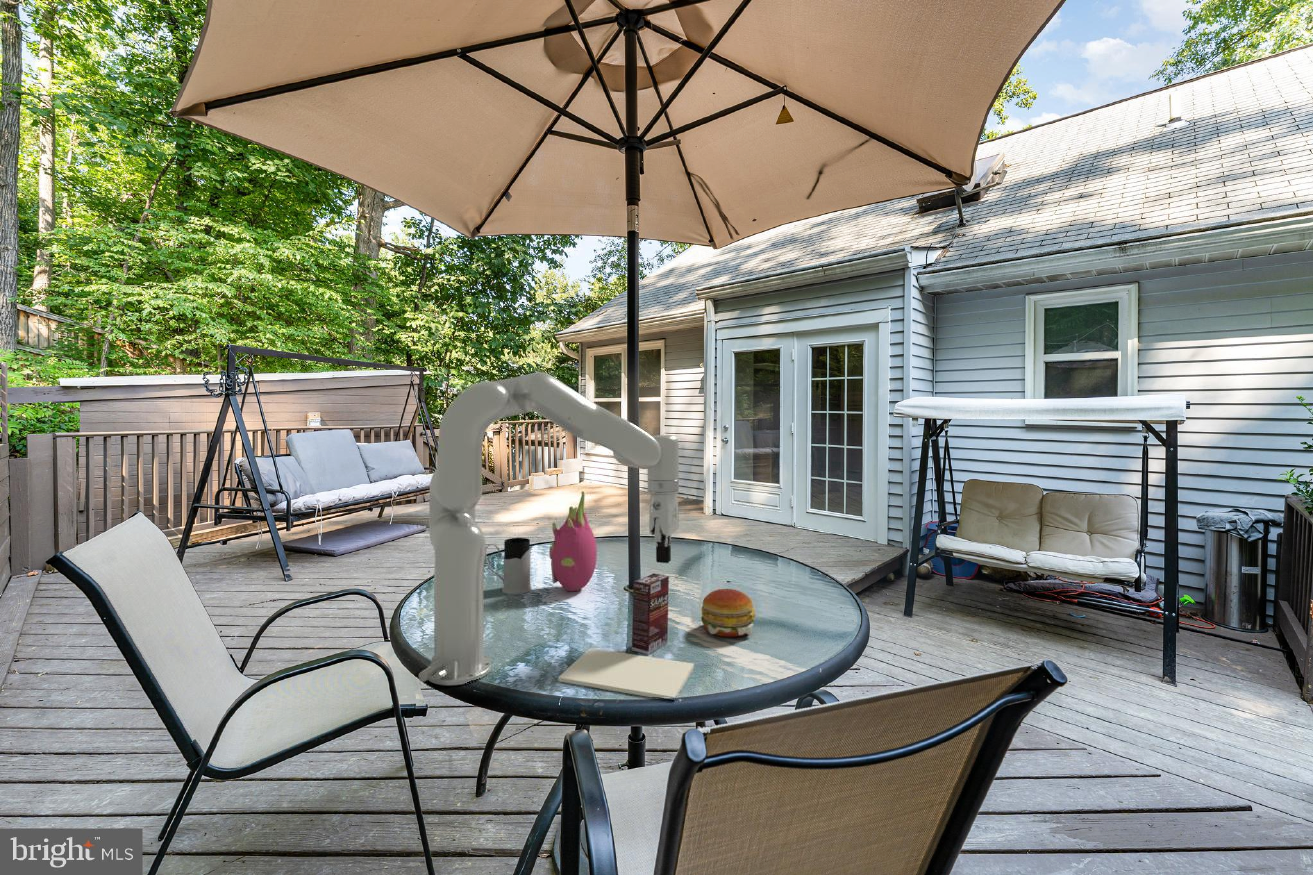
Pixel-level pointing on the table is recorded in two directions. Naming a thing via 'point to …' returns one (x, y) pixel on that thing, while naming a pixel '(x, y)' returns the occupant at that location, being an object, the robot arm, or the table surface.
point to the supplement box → (650, 613)
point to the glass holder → (515, 565)
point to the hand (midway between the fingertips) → (663, 561)
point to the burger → (728, 613)
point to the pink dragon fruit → (573, 550)
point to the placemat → (628, 673)
